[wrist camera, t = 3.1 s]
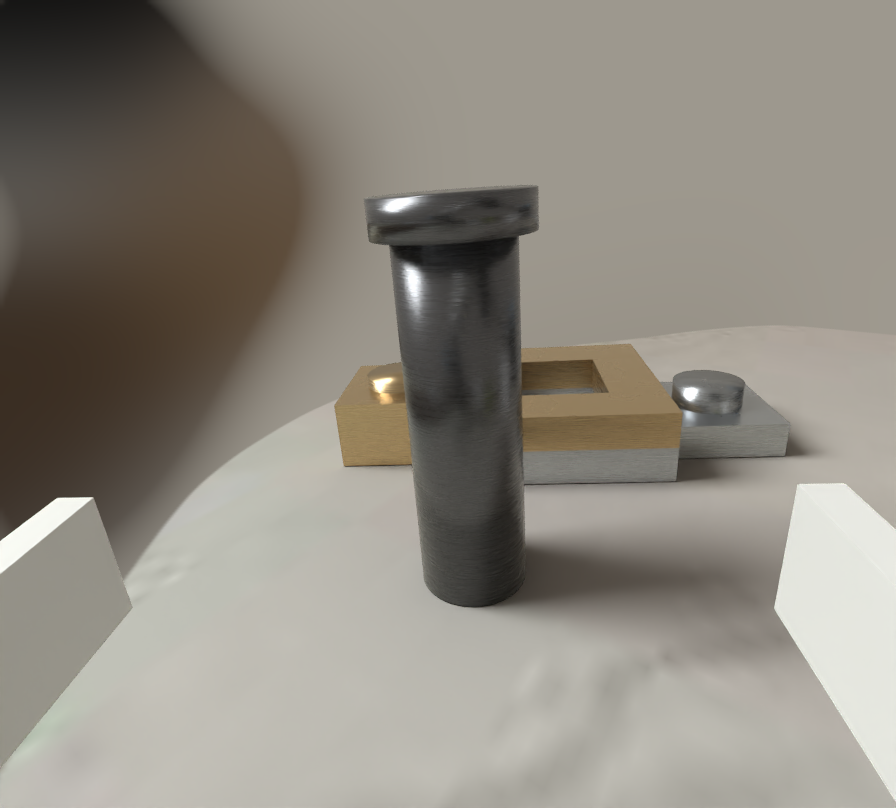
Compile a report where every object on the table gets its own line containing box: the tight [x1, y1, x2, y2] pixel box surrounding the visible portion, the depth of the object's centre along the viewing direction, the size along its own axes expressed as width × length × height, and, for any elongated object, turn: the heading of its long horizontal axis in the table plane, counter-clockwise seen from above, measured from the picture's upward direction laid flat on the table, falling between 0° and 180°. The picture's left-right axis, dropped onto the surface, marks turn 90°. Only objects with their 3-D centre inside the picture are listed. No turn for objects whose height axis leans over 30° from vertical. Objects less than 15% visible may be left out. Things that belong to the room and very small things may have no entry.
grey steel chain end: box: [522, 370, 790, 484], centre depth 32 cm, size 17×11×3 cm, turn 86°
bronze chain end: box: [334, 344, 683, 466], centre depth 32 cm, size 17×11×4 cm, turn 86°
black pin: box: [364, 185, 539, 607], centre depth 20 cm, size 5×5×14 cm
